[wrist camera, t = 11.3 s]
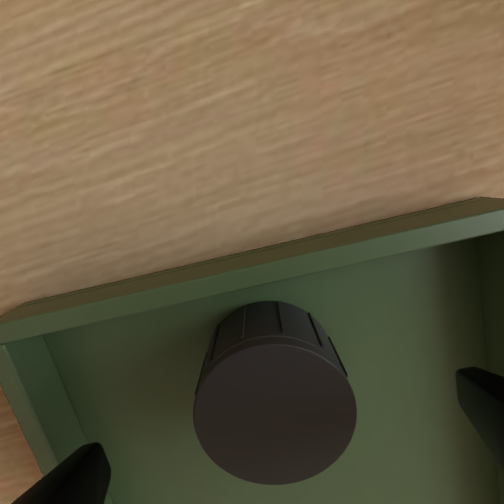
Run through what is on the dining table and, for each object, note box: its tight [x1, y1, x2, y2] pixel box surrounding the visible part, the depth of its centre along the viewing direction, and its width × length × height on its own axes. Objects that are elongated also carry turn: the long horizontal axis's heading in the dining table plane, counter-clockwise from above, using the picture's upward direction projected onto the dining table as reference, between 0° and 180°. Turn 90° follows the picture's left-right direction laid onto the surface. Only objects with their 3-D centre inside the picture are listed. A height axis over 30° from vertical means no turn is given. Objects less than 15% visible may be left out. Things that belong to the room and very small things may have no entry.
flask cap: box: [193, 301, 357, 485], centre depth 9 cm, size 4×4×3 cm
